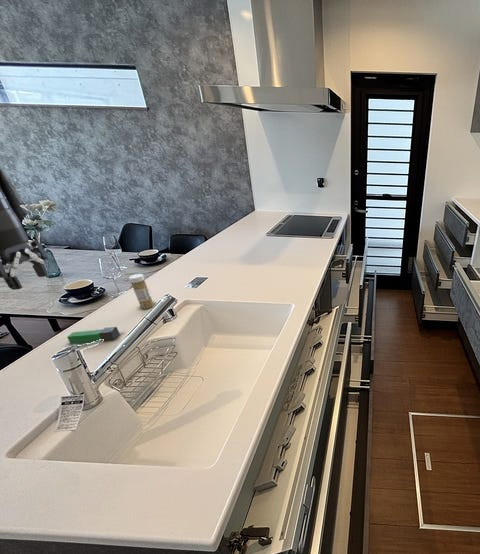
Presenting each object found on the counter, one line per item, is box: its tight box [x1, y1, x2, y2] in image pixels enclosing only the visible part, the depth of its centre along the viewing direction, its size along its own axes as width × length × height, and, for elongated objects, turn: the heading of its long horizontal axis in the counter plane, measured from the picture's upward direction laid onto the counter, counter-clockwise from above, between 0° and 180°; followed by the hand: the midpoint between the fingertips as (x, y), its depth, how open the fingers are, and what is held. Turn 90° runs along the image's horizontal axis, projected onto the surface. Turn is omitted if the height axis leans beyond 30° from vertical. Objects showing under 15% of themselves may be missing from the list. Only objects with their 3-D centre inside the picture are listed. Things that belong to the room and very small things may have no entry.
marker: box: [66, 326, 121, 345], centre depth 101 cm, size 13×3×3 cm, turn 98°
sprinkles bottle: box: [128, 273, 155, 310], centre depth 119 cm, size 5×5×14 cm
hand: (31, 282), depth 87 cm, fingers open, 8 cm apart
